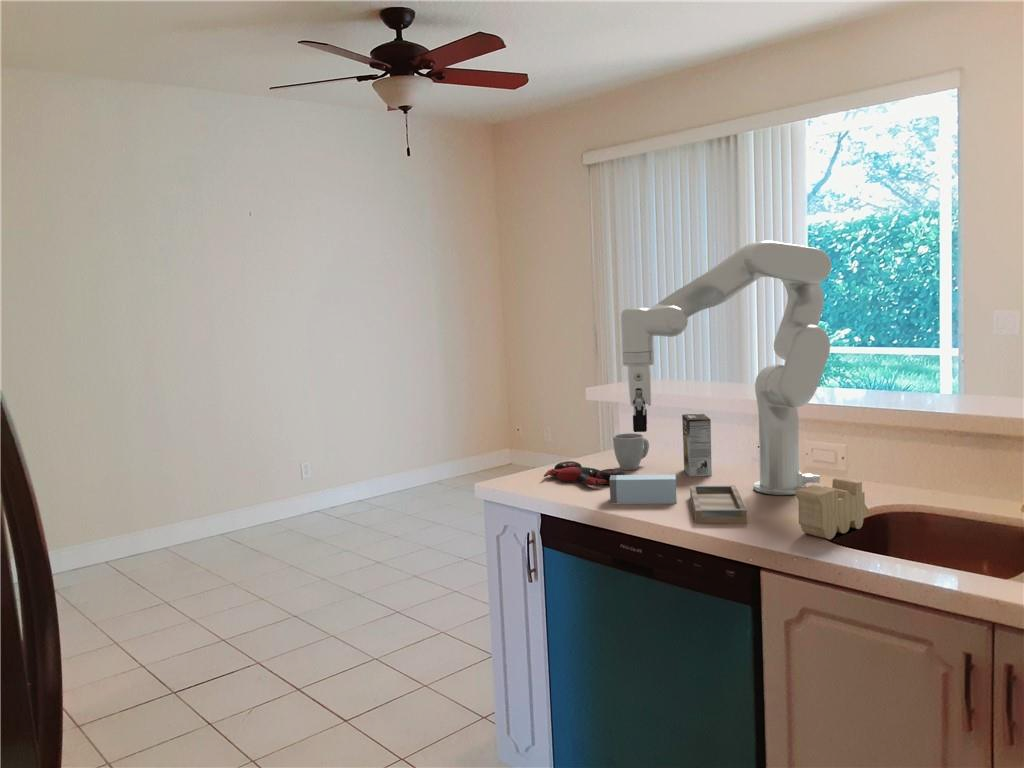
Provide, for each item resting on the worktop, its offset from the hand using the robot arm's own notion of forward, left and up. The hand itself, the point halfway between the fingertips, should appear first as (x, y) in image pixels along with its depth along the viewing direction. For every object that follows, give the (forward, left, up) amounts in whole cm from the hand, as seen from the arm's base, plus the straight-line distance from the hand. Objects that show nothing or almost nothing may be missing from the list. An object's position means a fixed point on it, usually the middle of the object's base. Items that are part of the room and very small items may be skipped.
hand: (640, 428), depth 192 cm
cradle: (-17, +9, -18) cm, 26 cm away
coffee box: (-15, -30, -18) cm, 38 cm away
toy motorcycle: (+18, -22, -19) cm, 34 cm away
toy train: (-39, +25, -18) cm, 50 cm away
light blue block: (0, 0, -18) cm, 18 cm away
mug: (+3, -38, -18) cm, 42 cm away
